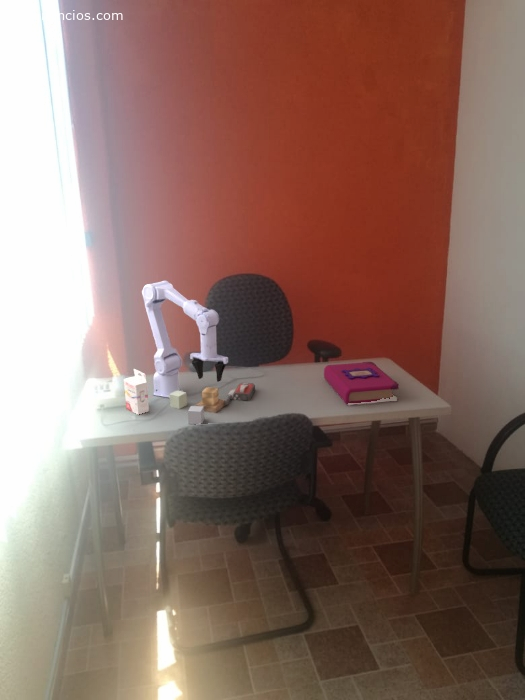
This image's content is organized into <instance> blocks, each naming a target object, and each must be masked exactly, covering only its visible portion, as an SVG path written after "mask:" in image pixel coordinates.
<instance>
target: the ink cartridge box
mask: <svg viewBox="0 0 525 700" xmlns="http://www.w3.org/2000/svg"><path fill="white" fill-rule="evenodd" d="M133 373H134V376H131V377H127V378H126V377H125V378H124V379H123V384H124V385H123V387H124V394H125V395H124V398H125V408H126V410H128V411H131V412H132V413H134V414H135V413H136V415H137V414H138V416H140V415H142V413H143V414H145V412H146V413H147V412H150V406H149V403H150V402H149V393H148V382H147V376H146V373H144V372H142V371H140V370H138V369H135V368H133ZM139 414H140V415H139Z"/></svg>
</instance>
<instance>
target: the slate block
mask: <svg viewBox="0 0 525 700" xmlns="http://www.w3.org/2000/svg"><path fill="white" fill-rule="evenodd" d="M187 420H188V425H194V424H199V423H202V424H203V423H204V421H205V411H204V406H196V405H190V407H189V409H188V410H187Z"/></svg>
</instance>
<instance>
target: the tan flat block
mask: <svg viewBox="0 0 525 700" xmlns="http://www.w3.org/2000/svg"><path fill="white" fill-rule="evenodd" d="M225 402H226V399H222V398H219V401H218V402H217V403H216V404H215V405H214V406H211V405H205V404H202V400H200V401H199V402H198V403H196V404H195V406H204V412H206V413H212V414H213V413H214V414H216V413H218V412H219V411H220V410H221V409H222V408H224V407H225V405H224V404H225Z"/></svg>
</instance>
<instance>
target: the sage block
mask: <svg viewBox="0 0 525 700" xmlns="http://www.w3.org/2000/svg"><path fill="white" fill-rule="evenodd" d="M187 396H188V395H187V392H186V391H184V392H182V391H178V390H177V391H175V392H173V393H171V394H169V397H168V398H169V407H171V408H173V409H177V410H180V409H182V408H184V407H186V406H188V397H187Z"/></svg>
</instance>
